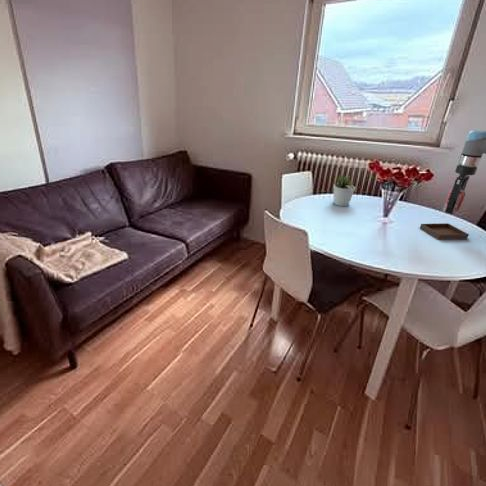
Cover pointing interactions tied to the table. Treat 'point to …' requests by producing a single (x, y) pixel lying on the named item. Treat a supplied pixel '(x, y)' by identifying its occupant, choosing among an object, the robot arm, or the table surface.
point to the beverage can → (458, 202)
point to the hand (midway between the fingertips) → (450, 211)
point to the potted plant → (343, 191)
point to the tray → (444, 231)
